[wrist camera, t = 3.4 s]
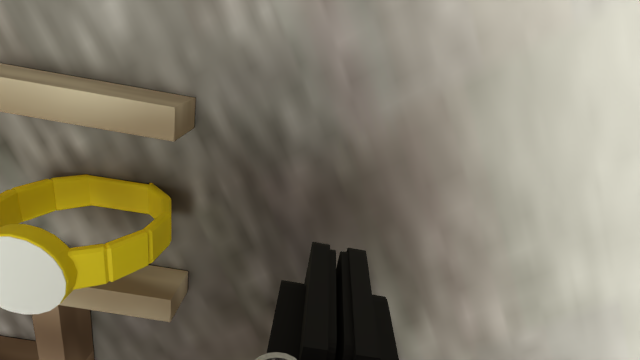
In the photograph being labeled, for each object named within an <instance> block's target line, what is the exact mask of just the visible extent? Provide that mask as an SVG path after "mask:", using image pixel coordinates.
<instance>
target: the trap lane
mask: <svg viewBox="0 0 640 360" xmlns="http://www.w3.org/2000/svg"><path fill="white" fill-rule="evenodd" d="M0 112H5V113H11V114H17V115H23V116H29V117H35V118H40V119H46V120H52V121H58V122H64V123H69V124H75V125H81V126H87V127H93V128H98V129H104V130H110V131H116V132H122V133H127V134H133V135H139V136H145V137H151V138H157V139H162V140H168V141H176V140H177V139H179V138H180V137H181V136H183V135H184V134H186V133H187V132H189V131H190V130H192V129H193V128H194V122H195V98H194V97H188V96H183V95H177V94H171V93H166V92H160V91H154V90H149V89H143V88H137V87H132V86H126V85H120V84H115V83H109V82H103V81H98V80H92V79H86V78H81V77H75V76H70V75H64V74H58V73H53V72H47V71H41V70H36V69H30V68H24V67H19V66H13V65H7V64H2V63H0ZM187 289H188V271H183V270H177V269H171V268H164V267H158V266H152V265H148V266H146V267H144V268H142V269H139V270H137V271H135V272H133V273H131V274H129V275H126V276H124V277H122V278H120V279H118V280H115V281H113V282H110V281H109V282H108V283H107V284H103V285H97V286H92V287H86V288H81V289H75V290H73V291H72V292H71V293H70V294H69V295H68V296H67V297H66V298H65V299H64V300H63V302H62V303H60V304H59V305H58V306H56V307H55V308H53V309H52V310H51V311H48V312H44V313H41V314H32V319H33V325H34V331H35V337H36V341H31V340H24V339H17V338H11V337H4V336H0V360H94V350H93V338H92V326H91V315H90V310H95V311H101V312H108V313H114V314H121V315H127V316H134V317H140V318H147V319H153V320H160V321H166V322H171V320H172V318H173V316H174V315H175V313H176V311H177V309H178V307H179V306H180V304H181V302H182V300H183V299H184V297H185V295H186V293H187Z"/></svg>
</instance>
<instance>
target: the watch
mask: <svg viewBox="0 0 640 360" xmlns="http://www.w3.org/2000/svg"><path fill="white" fill-rule="evenodd" d="M91 205H93V206H99V207H106V208H112V209H119V210H125V211H132V212H138V213H145V214H150V215H151V216H152V217H153V218H154V220H153V221H152V222H151V223H150V224H149V225H147V226H146V227H145V228H144V229H143V230H140V231H137V232H134V233H132V234H129V235H126V236H123V237H121V238H118V239H115V240H113V241H110V242H107V243H105V244H97V245H89V246H82V247H74V248H69V247H68V246H67V245H66V244H65V243H64V242H62V241H61V240H60V239H59V238H58V237H56V236H55V235H53V234H51V233H49V232H48V231H46V230H44V229H42V228H38V227H35V226H31V225H26V224H19V223H21V222H24V221H27V220H30V219H33V218H36V217H38V216H41V215H44V214H47V213H50V212H53V211H55V210H63V209H70V208H77V207H84V206H91ZM170 242H171V199H170V197H169V196H168V195H167V194H166V193H164V192H163V191H162V190H161V189H159V188H158V187H157V186H155V185H153V183H149V184H143V183H137V182H130V181H124V180H117V179H111V178H105V177H98V176H92V175H88V174H86V175H76V176H65V177H55V178H52V179H50V180H49V179H44V180H40V181H37V182H33V183H29V184H25V185H22V186H18V187H14V188H12V189H11V190H6V191H5V192H3V193H1V194H0V307H1V308H3V309H5V310H8V311H11V312H15V313H20V314H41V313H44V312H48V311H51V310H52V309H53V308H55V307H56V306H58V305H59V304H60V303H62V302H63V300H64V299H65V298H66V297H67V296H68V295H69V294H70V293H71V292H72V291H73V290H75V289H81V288H86V287H92V286H97V285H103V284H107V283H108V282H109V281H110V282H113V281H115V280H118V279H120V278H122V277H124V276H126V275H129V274H131V273H133V272H135V271H137V270H139V269H142V268H144V267H146V266H148V265H149V263H150V264H151V263H152V262H153V261H154V260H155V259H156V258H157V257H158V256H159V255H160V254H161V253H162V252H163V251H164V250H165V249H166V248H167V247H168V246H169V244H170Z"/></svg>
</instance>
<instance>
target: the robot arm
mask: <svg viewBox="0 0 640 360" xmlns="http://www.w3.org/2000/svg"><path fill="white" fill-rule="evenodd" d="M255 360H399V358H398V353H397V348H396V343H395V337H394V332H393V327H392V322H391V317H390V312H389V307H388V302H387V299H386V297H383V296H377V295H372V292H371V285H370V278H369V271H368V263H367V256H366V251H364V250H358V249H352V248H348V249H347V251H346V252H342V251H341V252H340V255H339V259H338V263H337V268H336V250H330V245H328V244H322V243H316V242H313V243H312V247H311V252H310V257H309V262H308V268H307V273H306V278H305V283H304V284H302V283H296V282H290V281H283V280H282V281H281V285H280V290H279V295H278V300H277V305H276V310H275V315H274V320H273V325H272V330H271V335H270V339H269V344H268V349H267V353H266V354H264V355H261V356H259V357H257V358H256V359H255Z"/></svg>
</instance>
